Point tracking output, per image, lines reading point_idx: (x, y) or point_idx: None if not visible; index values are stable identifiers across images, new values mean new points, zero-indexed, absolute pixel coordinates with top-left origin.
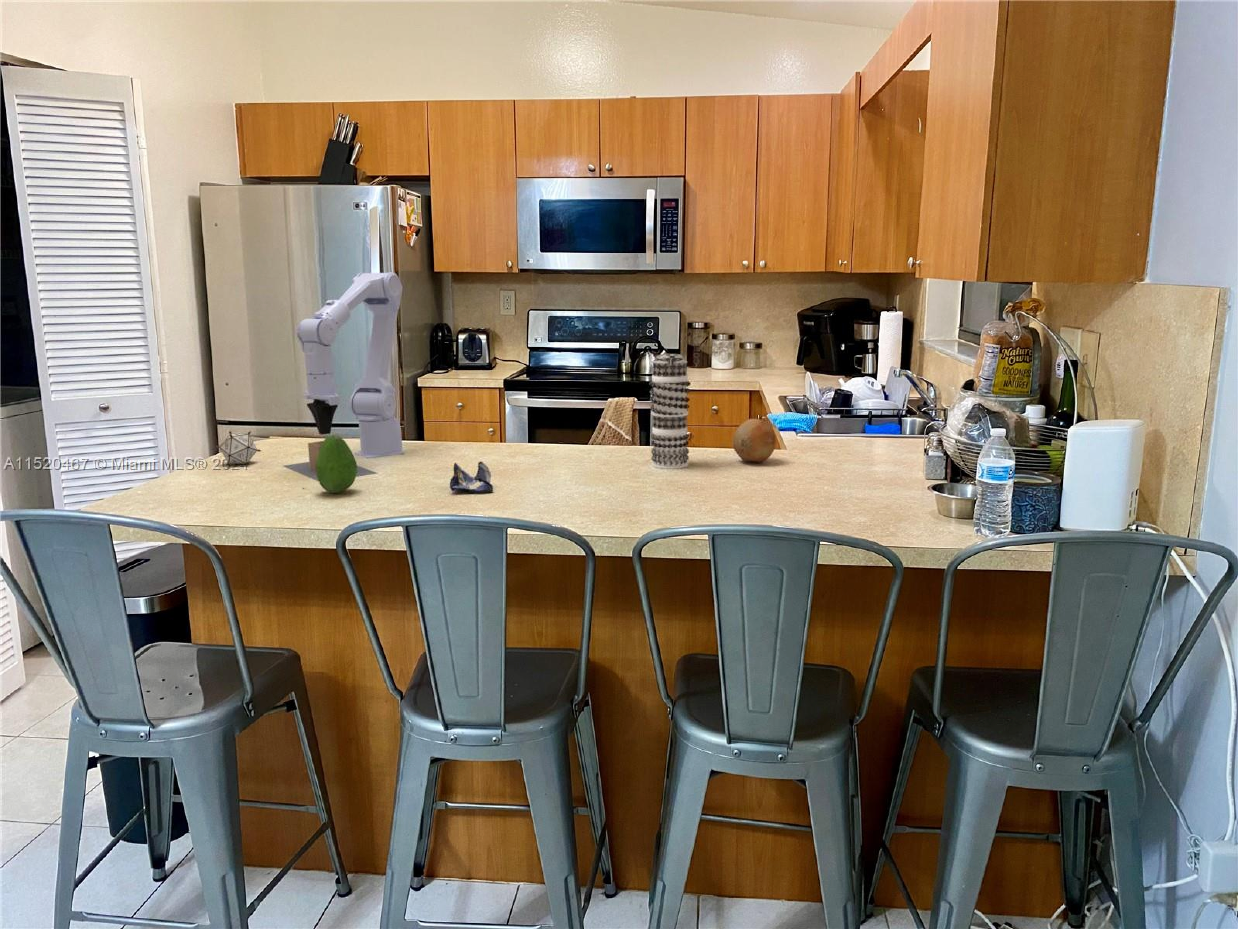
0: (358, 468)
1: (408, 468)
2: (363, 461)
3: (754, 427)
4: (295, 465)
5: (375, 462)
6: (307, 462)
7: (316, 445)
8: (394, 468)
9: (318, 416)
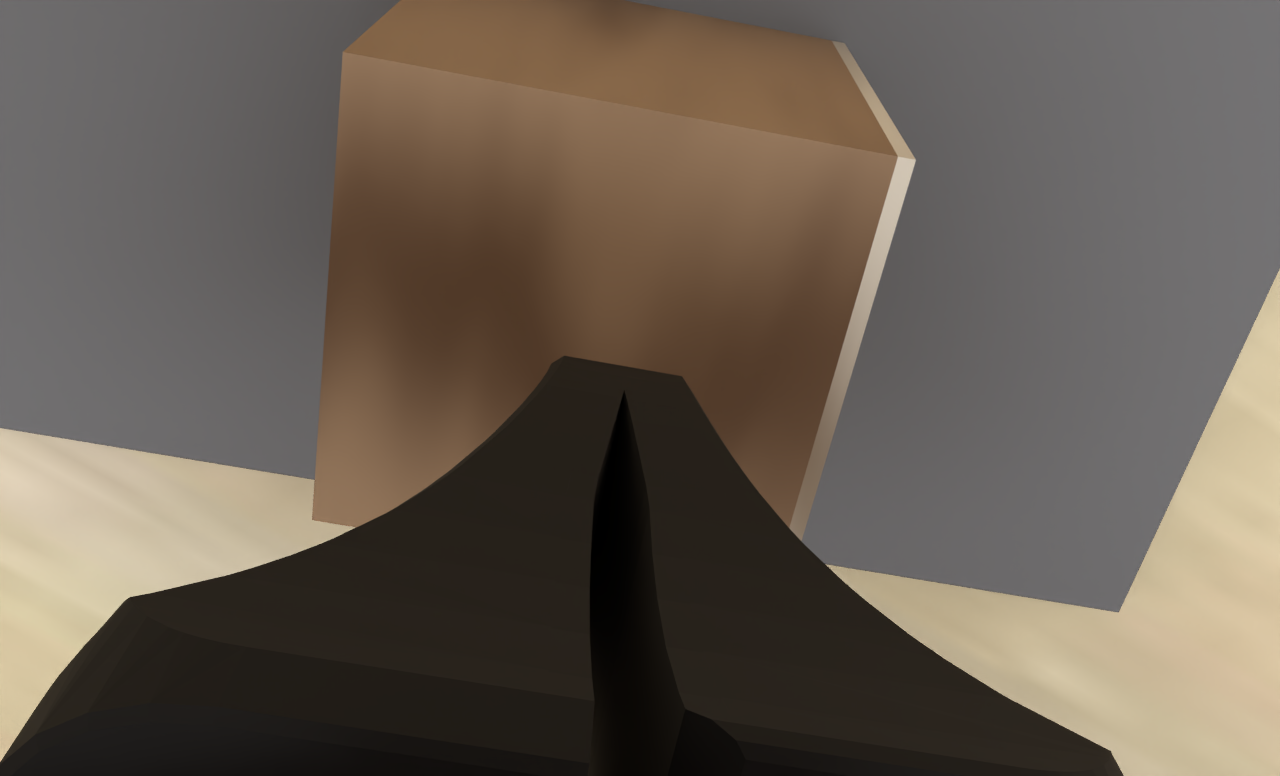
0: None
1: (17, 733)
2: None
3: None
4: (1259, 56)
5: None
6: (1250, 272)
7: (525, 115)
8: None
9: (368, 525)
